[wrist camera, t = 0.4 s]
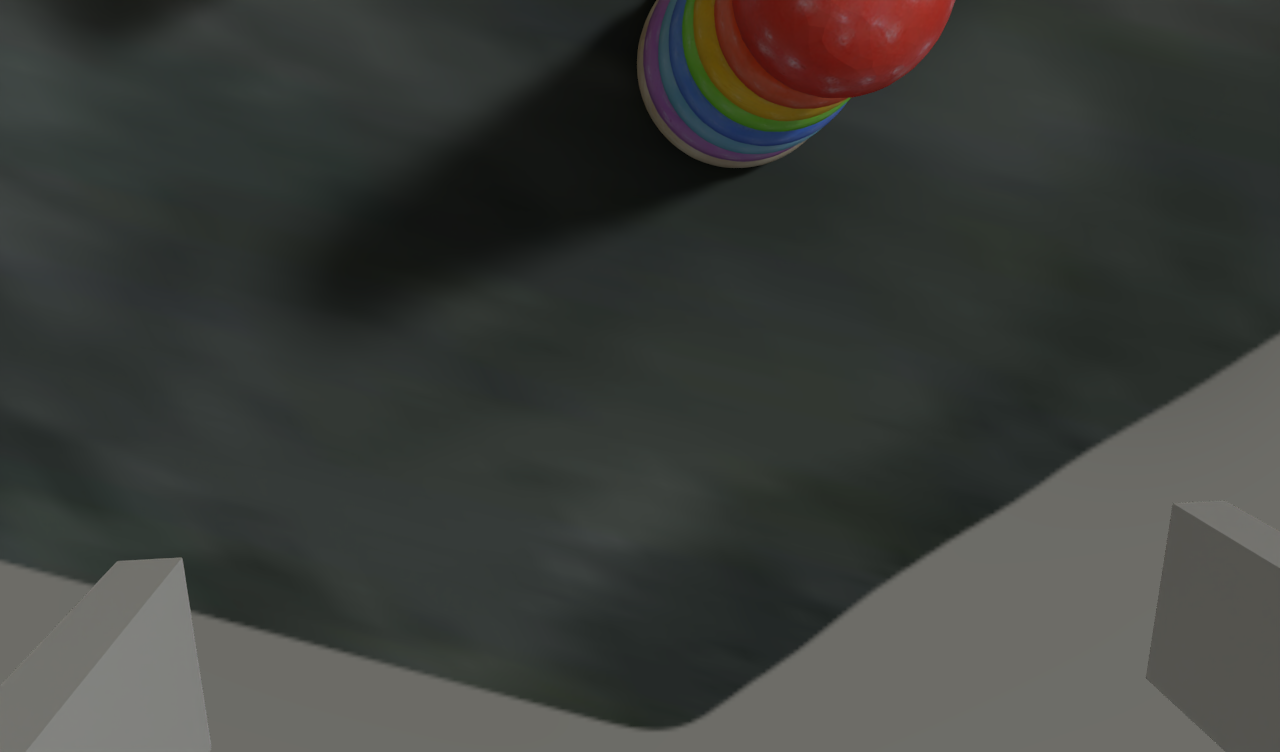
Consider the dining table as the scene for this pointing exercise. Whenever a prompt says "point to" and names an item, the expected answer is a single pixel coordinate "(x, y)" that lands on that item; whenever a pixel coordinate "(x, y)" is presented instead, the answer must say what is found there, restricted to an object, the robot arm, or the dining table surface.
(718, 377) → the dining table surface
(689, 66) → the stacking toy
